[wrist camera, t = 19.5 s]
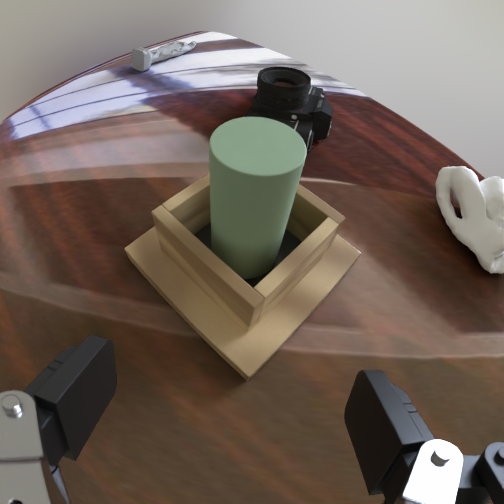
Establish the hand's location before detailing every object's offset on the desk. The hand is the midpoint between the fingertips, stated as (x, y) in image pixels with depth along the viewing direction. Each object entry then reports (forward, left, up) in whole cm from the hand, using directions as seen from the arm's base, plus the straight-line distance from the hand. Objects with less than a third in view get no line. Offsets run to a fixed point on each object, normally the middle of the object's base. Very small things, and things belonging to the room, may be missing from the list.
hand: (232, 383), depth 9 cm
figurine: (-26, -40, -10) cm, 49 cm away
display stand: (-8, -6, -9) cm, 14 cm away
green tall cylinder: (-8, -6, -8) cm, 13 cm away
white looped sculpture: (-27, +8, -10) cm, 30 cm away
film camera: (-24, -15, -10) cm, 30 cm away
